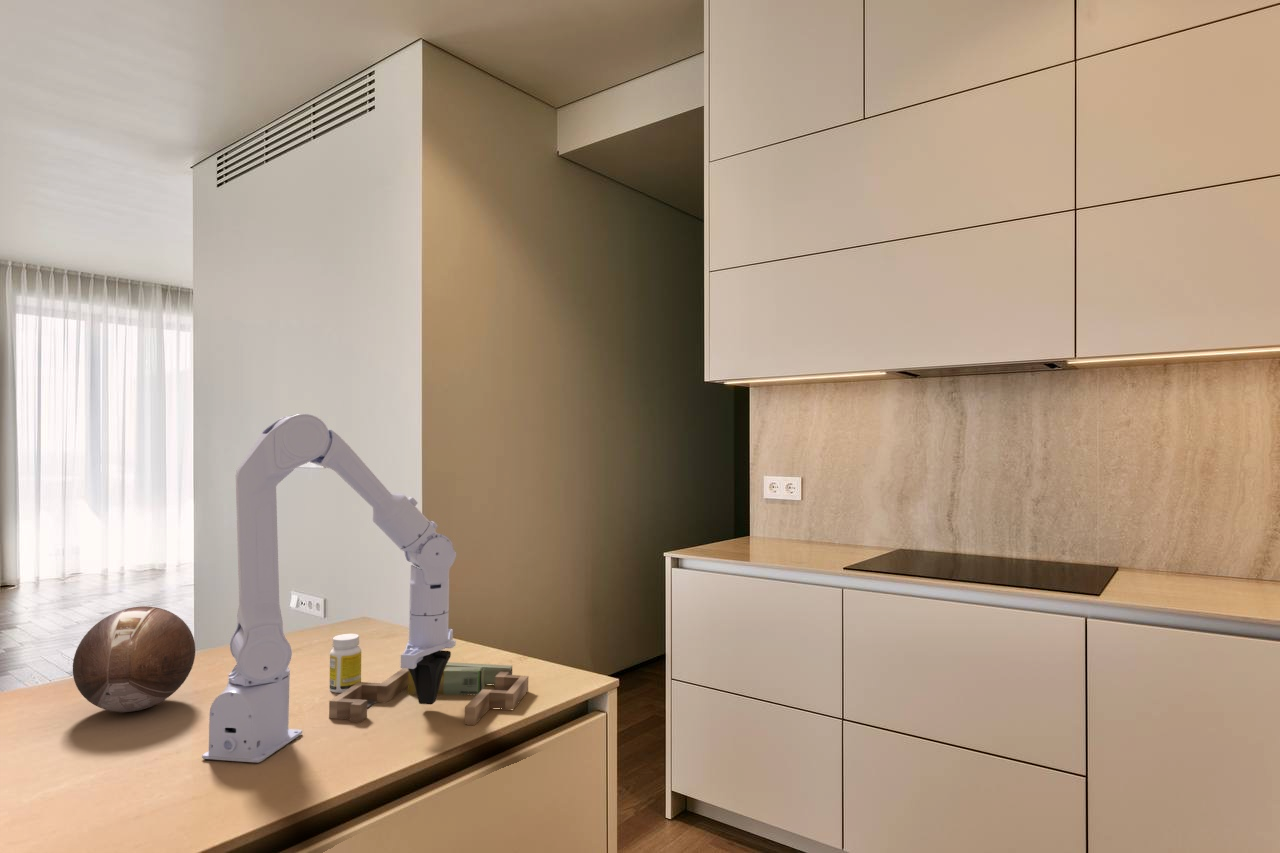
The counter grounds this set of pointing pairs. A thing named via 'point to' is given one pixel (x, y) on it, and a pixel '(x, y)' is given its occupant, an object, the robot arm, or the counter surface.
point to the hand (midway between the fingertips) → (427, 702)
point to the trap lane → (366, 694)
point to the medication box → (457, 681)
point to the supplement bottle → (345, 662)
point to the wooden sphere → (133, 659)
